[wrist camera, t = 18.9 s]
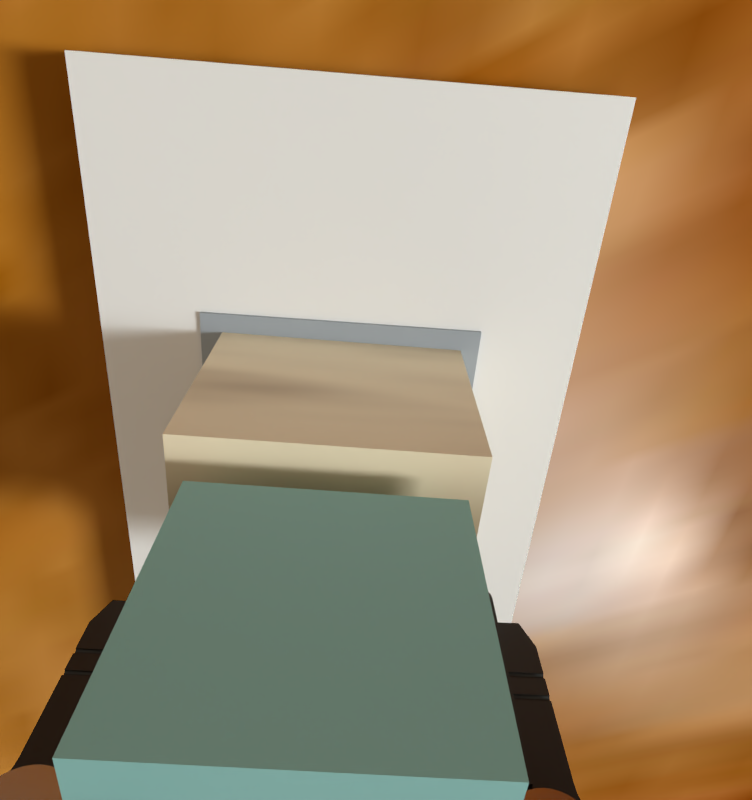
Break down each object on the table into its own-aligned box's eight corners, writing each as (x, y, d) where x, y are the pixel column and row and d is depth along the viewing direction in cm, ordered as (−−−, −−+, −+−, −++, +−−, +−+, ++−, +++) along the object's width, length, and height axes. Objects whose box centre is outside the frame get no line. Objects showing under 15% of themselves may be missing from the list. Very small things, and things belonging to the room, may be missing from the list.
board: (492, 648, 23) (499, 679, 22) (156, 630, 22) (144, 660, 21) (617, 95, 15) (637, 98, 13) (87, 51, 14) (62, 50, 13)
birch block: (431, 536, 19) (448, 680, 14) (228, 523, 19) (181, 664, 14) (460, 350, 16) (492, 457, 12) (222, 332, 16) (162, 433, 11)
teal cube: (433, 691, 13) (461, 995, 9) (196, 677, 13) (106, 981, 9) (468, 500, 11) (528, 781, 7) (182, 480, 11) (52, 757, 7)
